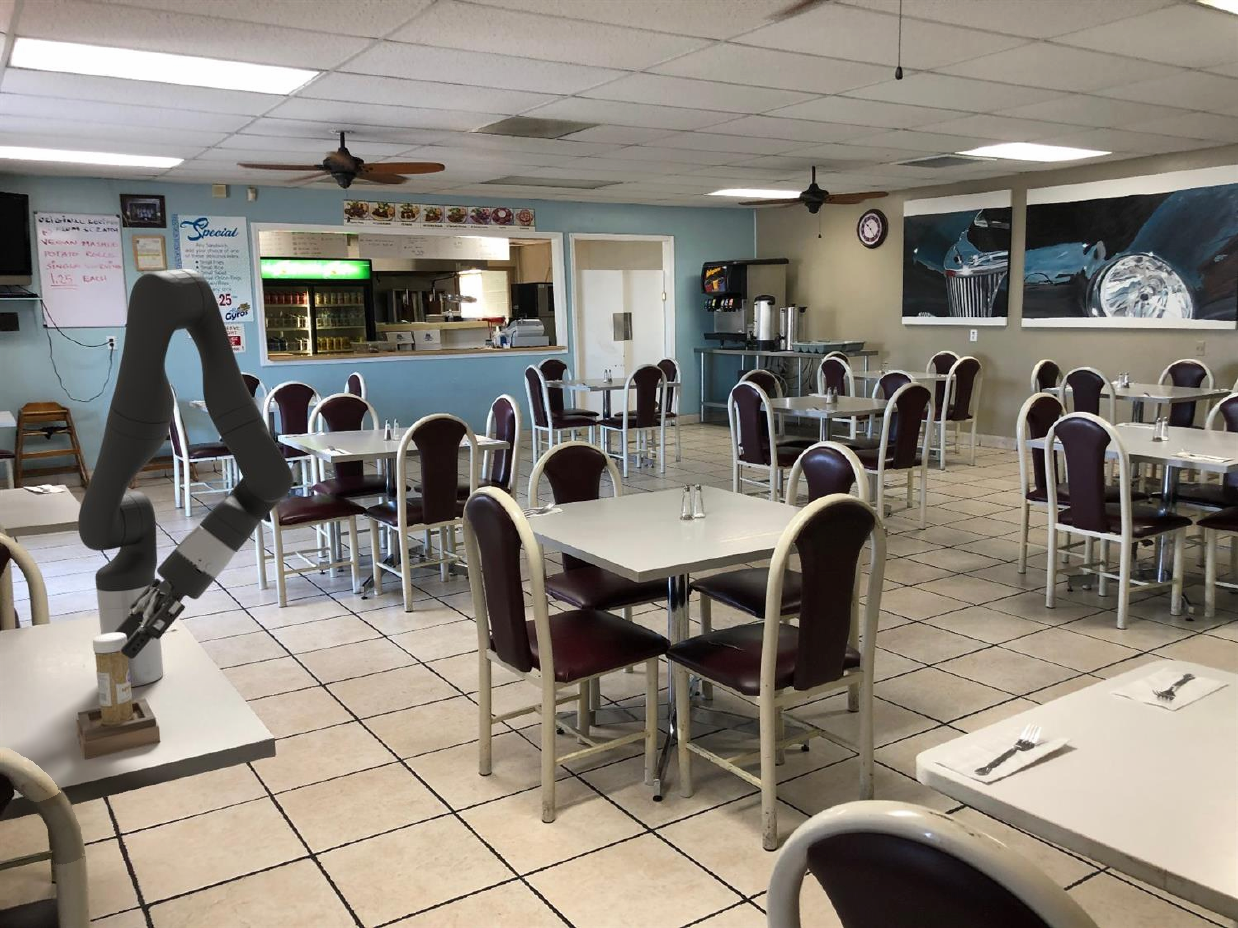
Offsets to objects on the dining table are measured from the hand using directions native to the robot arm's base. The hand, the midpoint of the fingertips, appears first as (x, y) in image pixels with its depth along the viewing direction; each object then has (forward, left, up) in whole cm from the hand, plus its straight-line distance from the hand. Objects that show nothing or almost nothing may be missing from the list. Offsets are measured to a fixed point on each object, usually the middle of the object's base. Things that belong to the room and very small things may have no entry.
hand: (121, 647), depth 147 cm
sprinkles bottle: (-1, -1, -12) cm, 12 cm away
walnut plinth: (0, -2, -14) cm, 14 cm away
